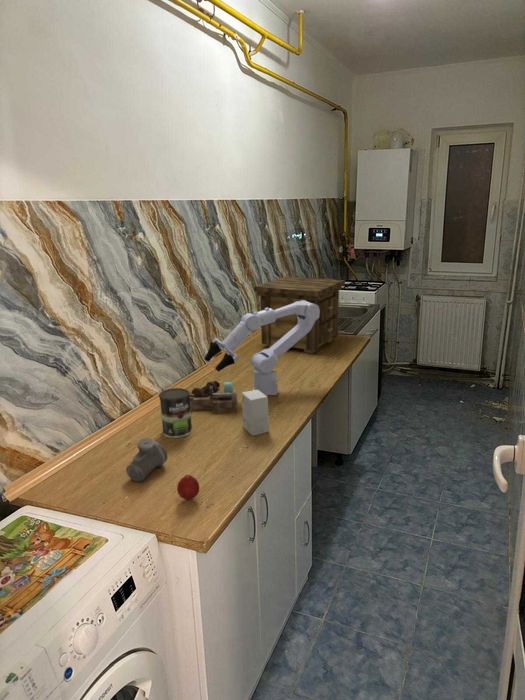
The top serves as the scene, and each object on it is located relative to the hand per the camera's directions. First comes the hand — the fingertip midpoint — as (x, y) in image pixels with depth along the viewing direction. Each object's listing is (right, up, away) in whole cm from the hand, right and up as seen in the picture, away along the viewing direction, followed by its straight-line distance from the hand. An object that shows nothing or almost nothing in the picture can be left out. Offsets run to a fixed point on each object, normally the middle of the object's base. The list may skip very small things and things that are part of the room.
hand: (211, 365), depth 197 cm
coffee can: (-10, -22, -20) cm, 31 cm away
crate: (+40, +9, +77) cm, 88 cm away
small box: (+17, -22, -20) cm, 34 cm away
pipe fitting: (-15, -31, -46) cm, 57 cm away
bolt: (-3, -13, +12) cm, 18 cm away
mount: (+1, -16, -1) cm, 16 cm away
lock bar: (+4, -12, -3) cm, 13 cm away
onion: (0, -35, -60) cm, 69 cm away
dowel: (+6, -13, +8) cm, 17 cm away
